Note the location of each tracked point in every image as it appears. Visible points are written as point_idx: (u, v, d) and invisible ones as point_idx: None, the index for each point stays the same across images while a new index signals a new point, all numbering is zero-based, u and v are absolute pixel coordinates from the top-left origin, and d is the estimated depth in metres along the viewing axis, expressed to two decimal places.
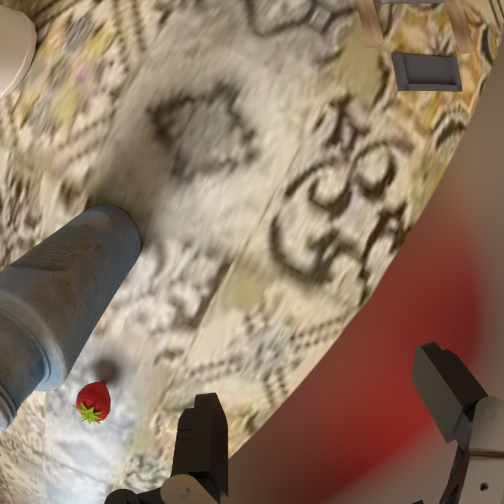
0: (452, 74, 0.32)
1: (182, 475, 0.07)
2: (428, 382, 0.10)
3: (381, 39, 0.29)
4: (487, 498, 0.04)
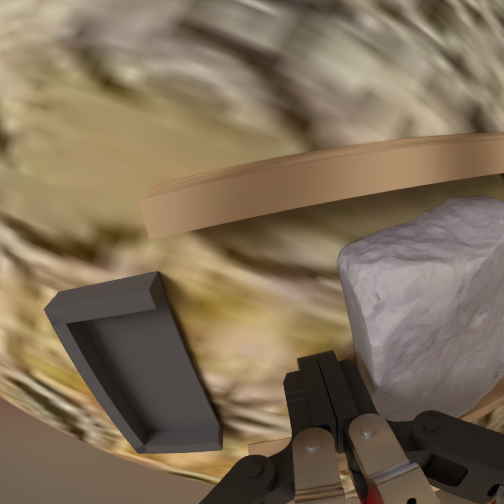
0: (172, 435, 0.15)
1: (311, 429, 0.08)
2: None
3: (161, 228, 0.09)
4: None
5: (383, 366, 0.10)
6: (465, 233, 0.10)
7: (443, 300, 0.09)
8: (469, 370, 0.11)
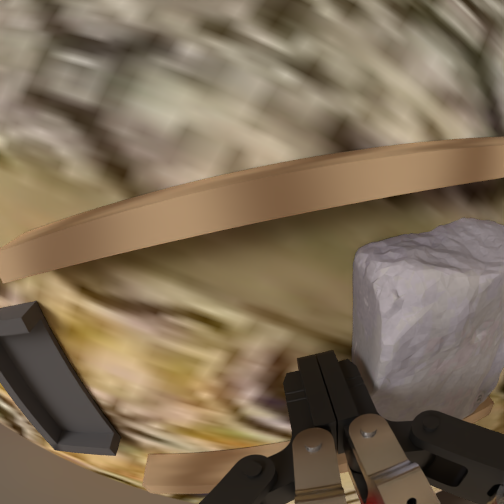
0: (78, 437, 0.15)
1: (311, 430, 0.08)
2: None
3: (7, 275, 0.09)
4: None
5: (389, 367, 0.10)
6: (478, 251, 0.10)
7: (457, 308, 0.09)
8: (459, 387, 0.12)
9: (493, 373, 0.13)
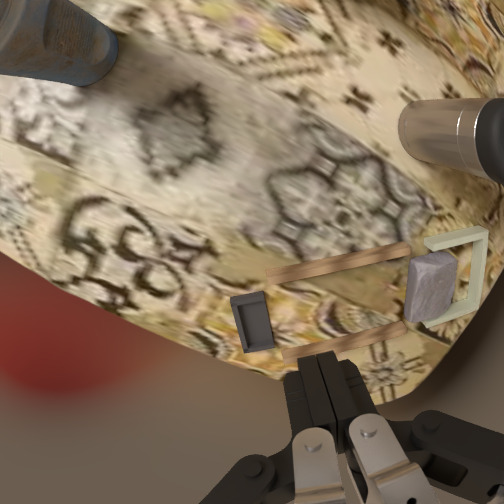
0: (257, 344, 0.51)
1: (311, 430, 0.08)
2: None
3: (271, 283, 0.45)
4: None
5: (419, 285, 0.46)
6: (439, 260, 0.46)
7: (433, 272, 0.44)
8: (436, 298, 0.47)
9: (448, 298, 0.48)
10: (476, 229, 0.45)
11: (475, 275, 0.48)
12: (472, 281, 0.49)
